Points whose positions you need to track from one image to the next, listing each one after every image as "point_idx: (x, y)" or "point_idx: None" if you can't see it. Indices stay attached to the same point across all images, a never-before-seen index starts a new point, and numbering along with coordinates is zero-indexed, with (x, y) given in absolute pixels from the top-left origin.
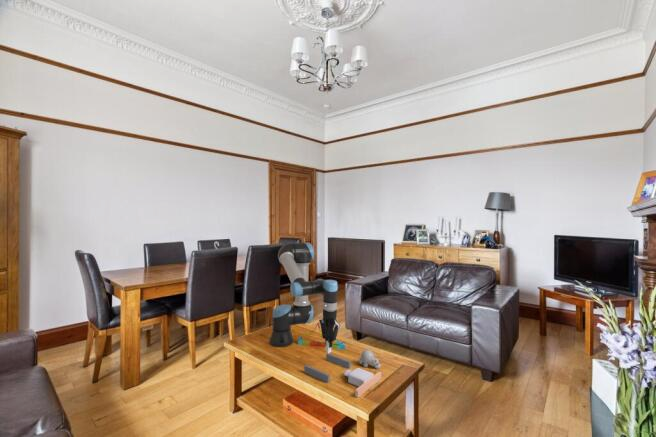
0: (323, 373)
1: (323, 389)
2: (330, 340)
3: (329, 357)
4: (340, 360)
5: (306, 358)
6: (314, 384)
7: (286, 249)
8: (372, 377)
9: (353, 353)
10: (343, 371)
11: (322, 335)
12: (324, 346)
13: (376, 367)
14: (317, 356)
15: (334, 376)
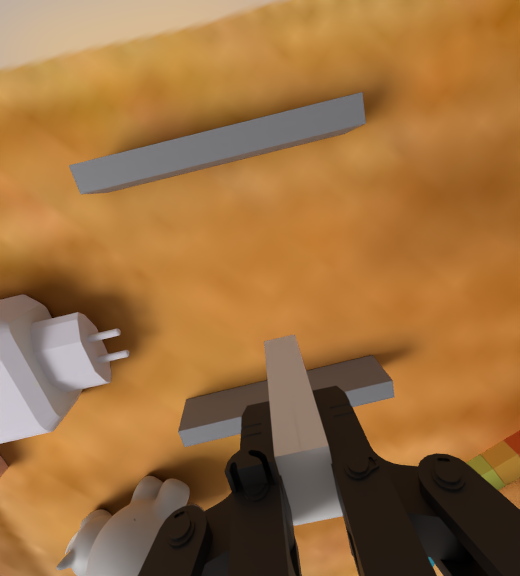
0: (128, 159)
1: (25, 73)
2: (232, 507)
3: (354, 377)
4: None
5: (491, 259)
6: (131, 58)
7: None
8: None
9: None
10: (113, 333)
11: (499, 507)
12: (510, 442)
13: (88, 516)
14: (452, 338)
15: (155, 268)
